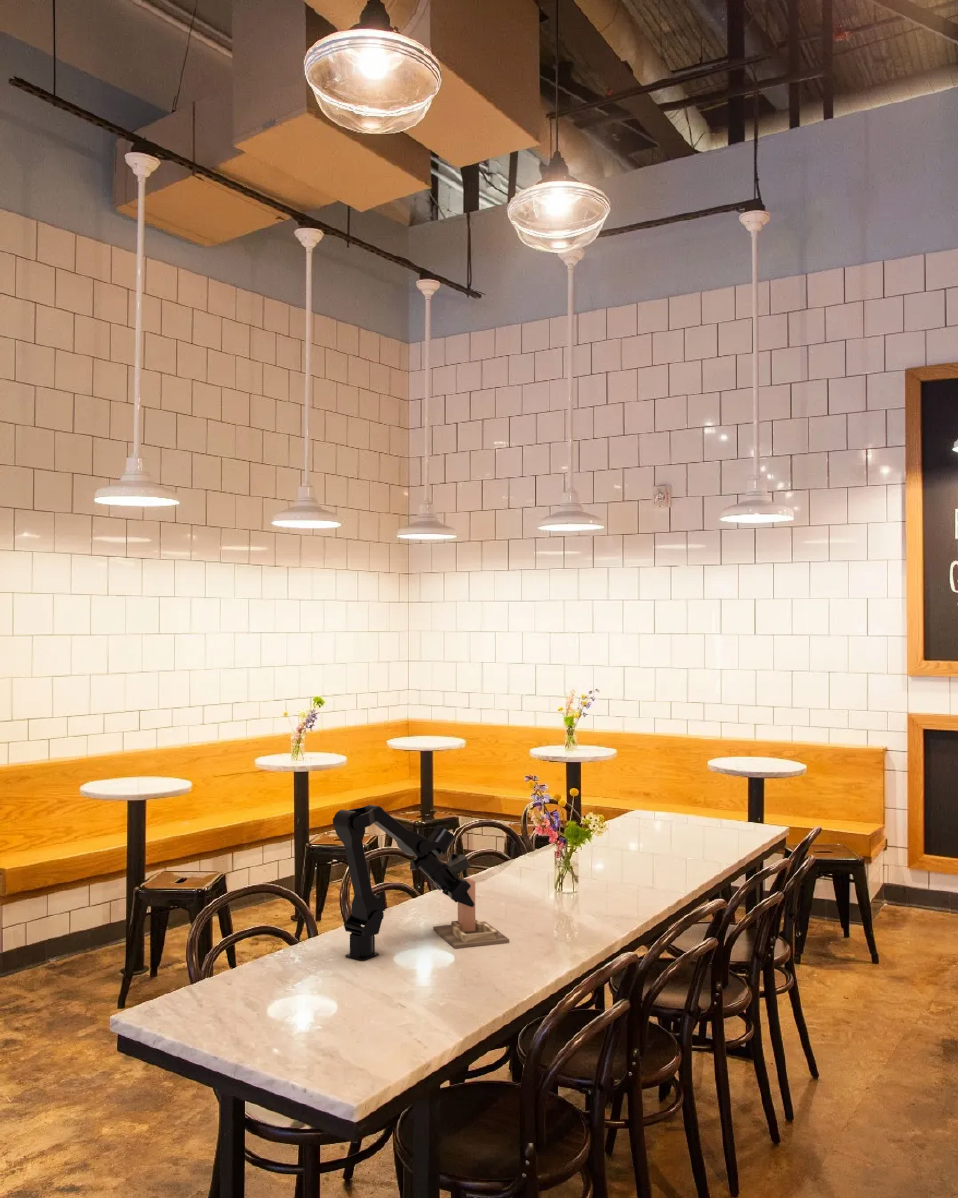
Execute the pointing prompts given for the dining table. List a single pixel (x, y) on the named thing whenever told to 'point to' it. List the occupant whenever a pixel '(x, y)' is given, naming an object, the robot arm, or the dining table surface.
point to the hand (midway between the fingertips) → (470, 904)
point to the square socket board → (470, 935)
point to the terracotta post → (467, 910)
